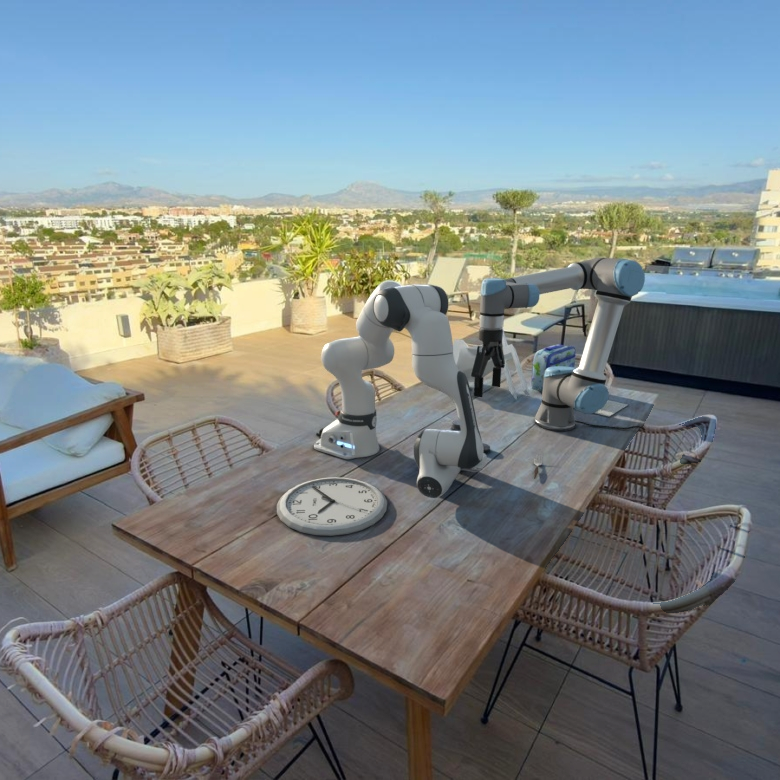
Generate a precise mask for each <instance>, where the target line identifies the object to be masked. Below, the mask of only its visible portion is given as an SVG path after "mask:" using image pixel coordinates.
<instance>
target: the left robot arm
mask: <svg viewBox="0 0 780 780" xmlns="http://www.w3.org/2000/svg"><path fill="white" fill-rule="evenodd" d="M448 310H449V298H448V295H447V292H446V291H445V290H444V288H442V287H441V286H438V285H435V284H408V285H402V284H401V283H399V282H398V281H394V280H383V281H382V282H380V283H379V284H378V285H377V286H376V288H375V289H374V290H373V291H372V292H371V294H370V295H369V297H368V298H367V300H366V301H365V304H364V306H363V307H362V309H361V312H360V313H359V315H358V317H357V319H356V321H355V328H356V332H357V334H358V336H353V337H346V338H339V339H335V340H332V341H330V342H328V343H325V344H324V346H323V347H322V350H321V353H320V360H321V361H320V362H321V364H322V366H323V367H324V369H325V370H326V371H327V372H328V373H330V374H331V375H332V376H333V377H335V379H336V380H337V382H338V384H339V386H340V393H341V407H340V408H339V409H338V410H337V411H336V412H335V413H334V414H335V415H334V416H335V417H337V418H336V419H335V420H333V421H332V422H330V423H329V424H328V425H326V426H325V427H322V428H320V429H319V431H318V432H316V434H315V436H317V437H318V439H317V440H316V441H315V443H314V444H313V449H314V450H316V451H318V452H320V453H324V454H328V455H331V456H334V457H338V458H341V459H344V460H352V459H356V458H366V457H371V456H374V455H376V454H377V453H379V452H380V449H381V448H380V445H379V441H378V436H377V427H376V426H377V408H376V389H375V387H374V385H373V384H372V383H371V382H369V381H368V380H365V379H363V375H362V373H363V371H367V370H372V369H378V368H381V367H384V366H386V365H388V364H390V363H391V362H392V361H393V359H394V357H395V346H394V343H393V342H392V340H391V338H390V337H391V335H392V333H393V331H394V330H395V331H396V332H402V331H403V330H404V329H405V330H406V331H407V332H408V333H409V334H410V335H409V336H410V340H411V347H410V349H411V365H412V370H413V373H414V375H415V377H416V378H417V379H418V381H420V382H421V383H422V384H424V385H425V386H427V387H429V388H430V389H431V388H432V389H434V390H437V391H439V392H440V393H443V394H445V395H446V396H448V397H450V399H451V400H452V401H453V402H454V404H455V408H456V413H457V419H458V420H459V424H460V429H461V431H452V430H450V429H439V428H438V429H437V428H425V429H423V430H422V431H421V432H420V433H419V434H418V435H417V437H416V439H415V441H414V445H413V457H414V461H415V464H416V466H417V467H418V470H419V472H418V475H417V479H416V487H417V490H418V491H419V492H420V494H421V495H423V496H425V497H426V498H431V499H437V498H440V497H442V496H443V495H444V494H446V492H447V491H448V490H449V489H450V488H451V486H452V485H453V482H454V481H455V480H456V478H457V477H458V475H459V474H460V472H462V471H461V470H463V471H467V472H472V473H478V472H481V471H483V469H484V467H485V466H486V464H487V454H485V453H483V440H482V436H481V433H480V430H479V429H480V428H479V426H478V421H477V416H476V410H475V406H474V401H473V396H472V391H471V388H470V382H468V380H467V377H466V375H465V374H464V373H463V372H461V371H460V370H459V369H458V367H457V365H456V363H455V361H454V356H453V344H454V341H453V336H452V335H453V333H452V329H451V325H450V324H451V323H450V320H449V317H448V316H447V313H448ZM319 437H320V438H319Z"/></svg>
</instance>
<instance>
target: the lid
mask: <svg viewBox="0 0 780 780" xmlns="http://www.w3.org/2000/svg"><path fill="white" fill-rule="evenodd" d="M482 443H483V442H482ZM490 452H491V446H490V445H489V444H487V443H483V453H485V454H486V455H487V454H490Z"/></svg>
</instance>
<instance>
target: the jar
mask: <svg viewBox="0 0 780 780" xmlns="http://www.w3.org/2000/svg"><path fill="white" fill-rule="evenodd" d="M449 430H452V431H461V429H460V424H459V419H458V420H453V421H452V424H451V425H450V429H449ZM463 471H464V470H461V471H460V472H463Z"/></svg>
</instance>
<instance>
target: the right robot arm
mask: <svg viewBox="0 0 780 780" xmlns="http://www.w3.org/2000/svg"><path fill="white" fill-rule="evenodd" d="M645 281H646V274H645V271H644V269H643V266H642V264H640V263H639V261H636V260H633V259H628V258H617V257H616V258H615V257H596V258H591V259H587V260H582V261H578V262H573V263H571V264H568V266H566V267H562V268H556V269H551V270H546V271H540V272H534V273H530V274H524V275H519V276H514V277H509V278H497V277H495V278H494V277H493V278H491V277H490V278H485V279H483V280H482V282H481V288H480V303H479V305H480V306H479V317H478V319H479V327H480V328H479V329H478V340H479V341H481V342H482V344H481V345H482V346H478V345H477V346H478V347H477V354H476V358H475V362H474V366H473V369H472V373H471V376H472V377H475V382H473V384H474V386H473V397H476V398H483V395H484V377H482V376H483V373H484V370H485V368H486V365H487V362H488V360H490V358H492V361H493V364H494V366H495V367H493V371H492V377H491V387H496V388H500V387H501V382H502V381H501V379H502V369H503V368H504V366H505V365H504V364H505V360H504V354H503V345H502V336H503V331H504V322H505V320H504V319H505V310H506V309H507V310H508V309H528V308H534V307H535V306H537V305H538V303H539V301H540V295H544V294H548V293H553V292H560V291H563V290H569V289H571V290H573V291H578V290H593V291H595V294H594V295H595V298H596V300H597V304H596V307H595V310H594V314H593V317H592V320H591V324H590V327H589V331H588V334H587V338H586V341H585V344H584V348H583V351H582V354H581V358H580V361H579V365H578V367H575V366H574V367H565V366H556V367H549V368H547V369H546V370H545V374H544V381H543V391H541V393H542V394H541V402H540V405H539V407H538V410H537V411H536V413H535V416H534V424H535V425H536V426H537V427H539V428H542V429H544V430H549V431H556V432H567V431H572V430H574V429H575V428H576V423H577V424H582V425H585V426H589V427H595V428H604V429H605V428H606V429H615V430H623V431H624V430H631V429H632V430H633V429H637V428H639V429H641V430H642V431H646V428H645V427H643V426H641V425H632V426H627V427H621V426H611V425H602V424H593V423H588V422H584V421H581V420H578V419H576V418H575V417H576V416H575V413H574V409H575V410H576V411H577V412H581V413H584V414H588V415H590V414H591V415H593V414H596V413H595V412H597V411H598V410H600V409H602V408H603V407H604V405H605V404H606V402H607V400H609V397H610V392H609V389H608V387H607V386H606V382H607V377H606V375H605V369H606V366H607V363H608V360H609V356H610V353H611V350H612V347H613V343H614V340H615V337H616V333H617V330H618V327H619V324H620V320H621V317H622V314H623V312H624V308H625V306H627V305H628V304H630V303H631V301H632V298H633V297H635V296H636V295H638V294H639V293H640V292H641V291H642V290H643V288H644V286H645ZM501 328H503V330H502V329H501ZM501 360H502V361H501Z"/></svg>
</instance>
